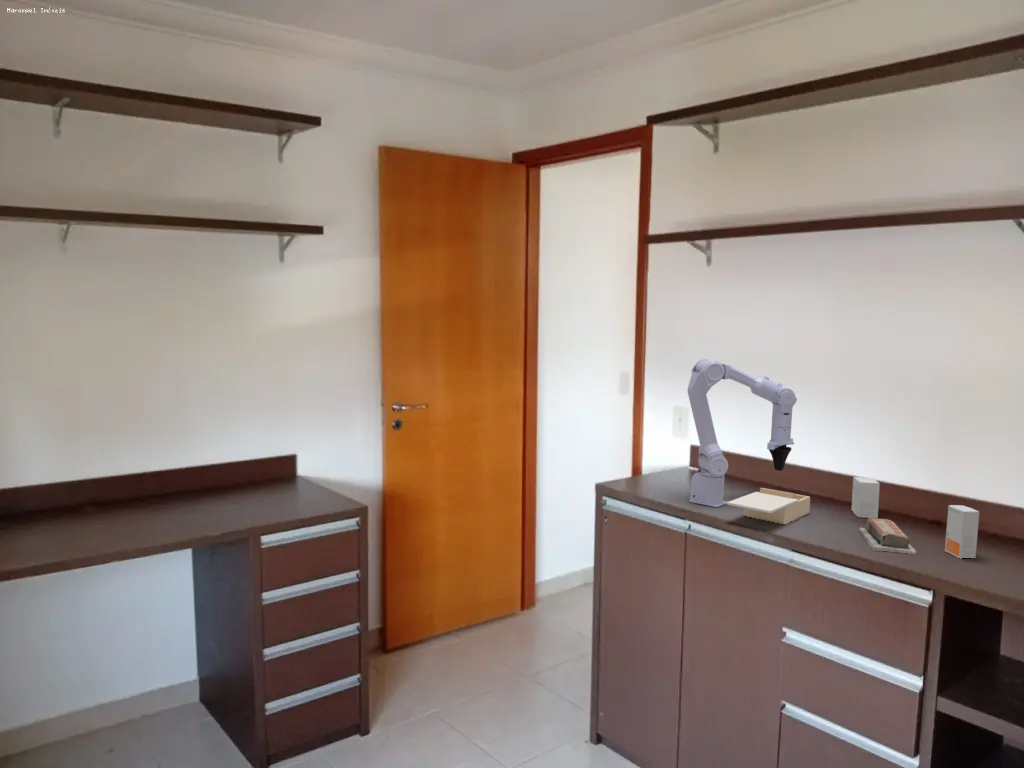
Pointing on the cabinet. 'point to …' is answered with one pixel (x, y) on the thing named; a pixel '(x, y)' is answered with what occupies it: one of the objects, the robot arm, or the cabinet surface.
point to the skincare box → (962, 531)
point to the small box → (865, 497)
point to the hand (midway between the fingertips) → (778, 469)
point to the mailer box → (783, 511)
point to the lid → (765, 500)
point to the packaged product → (886, 536)
